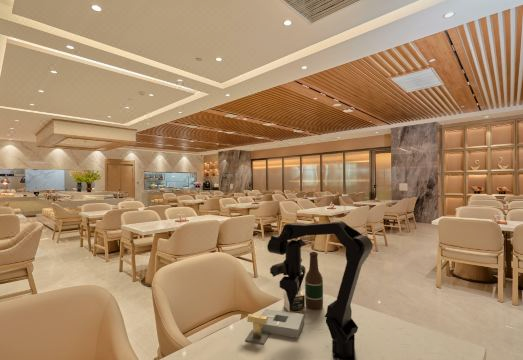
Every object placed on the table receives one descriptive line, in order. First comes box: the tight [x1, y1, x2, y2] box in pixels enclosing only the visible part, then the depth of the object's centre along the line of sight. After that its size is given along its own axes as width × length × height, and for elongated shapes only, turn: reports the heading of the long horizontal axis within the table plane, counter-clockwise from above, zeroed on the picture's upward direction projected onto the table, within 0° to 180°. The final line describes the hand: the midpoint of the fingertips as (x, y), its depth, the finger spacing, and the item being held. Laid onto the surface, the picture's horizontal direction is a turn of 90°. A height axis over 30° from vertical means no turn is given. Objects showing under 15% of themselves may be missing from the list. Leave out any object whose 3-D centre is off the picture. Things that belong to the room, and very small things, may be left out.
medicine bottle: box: [283, 285, 306, 313], centre depth 122 cm, size 7×7×12 cm
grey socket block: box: [260, 308, 305, 339], centre depth 108 cm, size 16×12×3 cm
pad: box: [244, 329, 271, 345], centre depth 100 cm, size 7×7×1 cm
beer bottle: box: [304, 251, 324, 311], centre depth 124 cm, size 8×8×24 cm
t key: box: [246, 313, 268, 339], centre depth 100 cm, size 3×7×7 cm, turn 71°
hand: (293, 299), depth 103 cm, fingers open, 9 cm apart
